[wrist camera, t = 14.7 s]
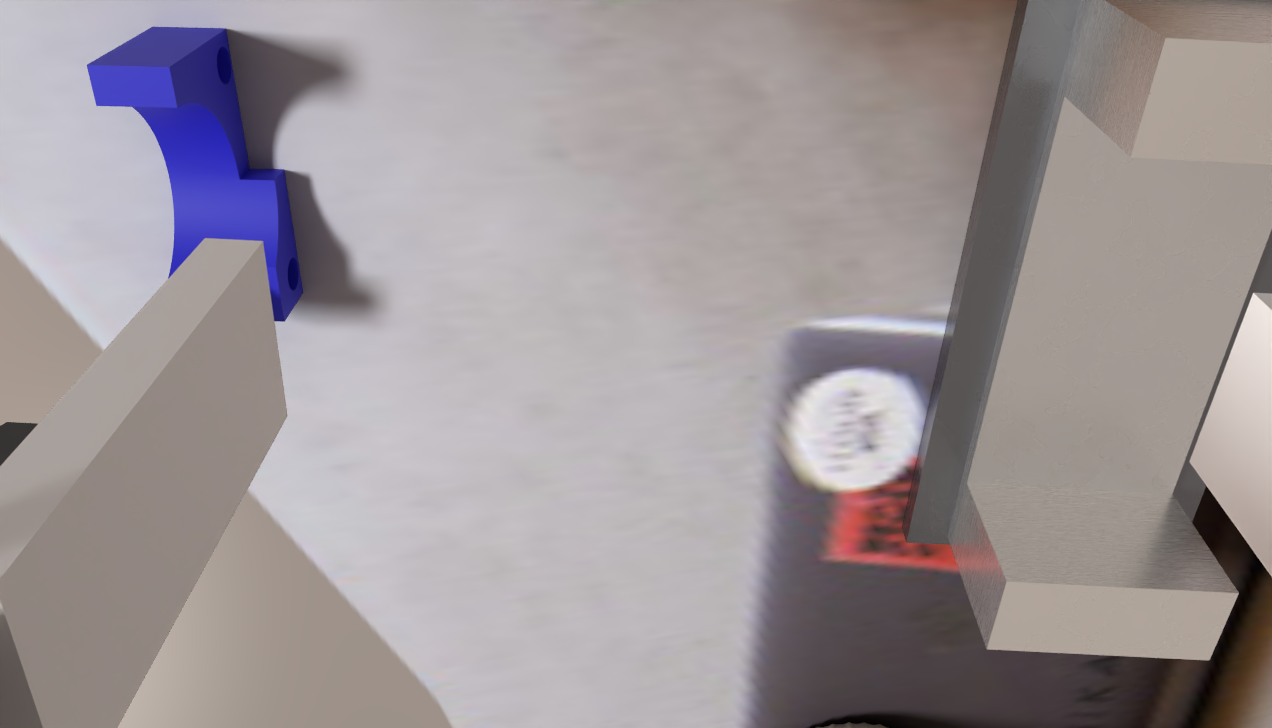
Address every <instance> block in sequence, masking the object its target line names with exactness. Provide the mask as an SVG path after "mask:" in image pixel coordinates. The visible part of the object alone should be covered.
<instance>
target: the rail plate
mask: <svg viewBox="0 0 1272 728" xmlns="http://www.w3.org/2000/svg"><path fill="white" fill-rule="evenodd" d="M1253 293H1270V294H1272V0H1018V3H1017V7H1016V12H1015V16H1014V21H1013V25H1012V30H1011V34H1010V39H1009V43H1008V48H1007V53H1006V57H1005V62H1004V66H1003V71H1002V75H1001V80H1000V84H999V89H998V93H997V98H996V103H995V107H994V112H993V116H992V121H991V125H990V130H989V134H988V139H987V143H986V148H985V152H984V157H983V162H982V166H981V171H980V175H979V180H978V184H977V189H976V193H975V198H974V202H973V207H972V212H971V216H970V221H969V225H968V230H967V234H966V239H965V243H964V248H963V252H962V257H961V262H960V266H959V271H958V275H957V280H956V284H955V289H954V293H953V298H952V302H951V307H950V311H949V316H948V321H947V325H946V330H945V334H944V339H943V343H942V348H941V352H940V357H939V361H938V366H937V371H936V375H935V380H934V384H933V389H932V393H931V398H930V402H929V407H928V411H927V416H926V420H925V425H924V430H923V434H922V439H921V443H920V448H919V452H918V457H917V461H916V466H915V470H914V475H913V480H912V484H911V489H910V493H909V498H908V502H907V507H906V511H905V516H904V520H903V525H902V529H903V533H904V536H905V539H906V542H909V543H929V544H949V545H950V546H951V549H952V552H953V554H954V557H955V560H956V563H957V566H958V569H959V572H960V574H961V577H962V580H963V583H964V586H965V589H966V591H967V594H968V597H969V600H970V603H971V606H972V609H973V611H974V614H975V617H976V620H977V623H978V626H979V628H980V631H981V634H982V637H983V640H984V643H985V646H986V648H987V649H992V650H1012V651H1032V652H1052V653H1072V654H1092V655H1112V656H1132V657H1152V658H1172V659H1192V660H1210V657H1211V655H1212V653H1213V651H1214V648H1215V646H1216V644H1217V642H1218V639H1219V637H1220V635H1221V632H1222V630H1223V628H1224V626H1225V623H1226V621H1227V619H1228V617H1229V614H1230V612H1231V610H1232V607H1233V605H1234V603H1235V601H1236V598H1237V596H1238V594H1239V593H1238V591H1237V590H1236V588H1235V587H1234V585H1233V584H1232V582H1231V581H1230V579H1229V578H1228V576H1227V575H1226V573H1225V572H1224V570H1223V569H1222V567H1221V566H1220V564H1219V563H1218V561H1217V560H1216V558H1215V557H1214V555H1213V554H1212V552H1211V551H1210V549H1209V548H1208V546H1207V545H1206V543H1205V542H1204V540H1203V539H1202V537H1201V536H1200V534H1199V533H1198V531H1197V530H1196V528H1195V527H1194V525H1193V524H1192V521H1193V518H1194V516H1195V513H1196V511H1197V508H1198V506H1199V503H1200V501H1201V498H1202V496H1203V493H1204V490H1205V488H1206V484H1205V483H1204V482H1203V480H1202V479H1201V477H1200V476H1199V475H1198V473H1197V472H1196V470H1195V469H1194V468H1193V466H1192V465H1191V463H1190V462H1189V461H1190V459H1191V456H1192V453H1193V451H1194V448H1195V445H1196V443H1197V440H1198V438H1199V435H1200V432H1201V430H1202V427H1203V424H1204V422H1205V419H1206V416H1207V414H1208V411H1209V408H1210V406H1211V403H1212V401H1213V398H1214V395H1215V393H1216V390H1217V387H1218V385H1219V382H1220V379H1221V377H1222V374H1223V371H1224V369H1225V366H1226V363H1227V361H1228V358H1229V356H1230V353H1231V350H1232V348H1233V345H1234V342H1235V340H1236V337H1237V334H1238V332H1239V329H1240V326H1241V324H1242V321H1243V319H1244V316H1245V313H1246V311H1247V308H1248V305H1249V303H1250V300H1251V297H1252V295H1253Z"/></svg>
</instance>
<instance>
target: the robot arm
mask: <svg viewBox="0 0 1272 728" xmlns="http://www.w3.org/2000/svg"><path fill="white" fill-rule="evenodd" d="M286 417H287V409H286V402H285V394H284V387H283V380H282V373H281V366H280V359H279V352H278V344H277V337H276V330H275V323H274V316H273V309H272V301H271V294H270V287H269V280H268V273H267V266H266V259H265V251H264V244H263V241H253V240H234V239H214V238H205V239H204V240H203V241H202V242H201V243H200V244H199V245H198V246H197V247H196V249H195V250H194V251H193V252H192V253H191V254H190V255H189V256H188V257H187V259H186V260H185V261H184V262H183V263H182V264H181V265H180V266H179V267H178V269H177V270H176V271H175V272H174V273H173V274H172V275H171V276H170V278H169V279H168V280H167V281H166V282H165V283H164V284H163V285H162V286H161V288H160V289H159V290H158V291H157V292H156V293H155V294H154V295H153V296H152V298H151V299H150V300H149V301H148V302H147V303H146V304H145V305H144V307H143V308H142V309H141V310H140V311H139V312H138V313H137V314H136V315H135V317H134V318H133V319H132V320H131V321H130V322H129V323H128V324H127V325H126V327H125V328H124V329H123V330H122V331H121V332H120V333H119V334H118V336H117V337H116V338H115V339H114V340H113V341H112V342H111V343H110V344H109V346H108V347H107V348H106V349H105V350H104V351H103V352H102V353H101V354H100V356H99V357H98V358H97V359H96V360H95V361H94V362H93V363H92V365H91V366H90V367H89V368H88V369H87V370H86V371H85V372H84V373H83V375H82V376H81V377H80V378H79V379H78V380H77V381H76V382H75V383H74V385H73V386H72V387H71V388H70V389H69V390H68V391H67V393H66V394H65V395H64V396H63V397H62V398H61V399H60V400H59V401H58V403H57V404H56V405H55V406H54V407H53V408H52V409H51V410H50V411H49V412H48V414H47V415H46V416H45V417H44V418H43V419H42V420H41V421H40V423H39V424H32V423H14V422H6V423H5V424H3V425H1V426H0V728H117V727H118V725H119V724H120V722H121V720H122V718H123V716H124V714H125V713H126V711H127V709H128V707H129V705H130V703H131V702H132V700H133V698H134V696H135V694H136V692H137V691H138V689H139V687H140V685H141V683H142V681H143V679H144V678H145V675H146V674H147V672H148V670H149V668H150V667H151V665H152V663H153V661H154V659H155V658H156V656H157V654H158V652H159V650H160V648H161V647H162V645H163V643H164V641H165V639H166V637H167V636H168V634H169V632H170V630H171V628H172V626H173V625H174V623H175V621H176V619H177V617H178V615H179V614H180V612H181V610H182V608H183V606H184V604H185V602H186V601H187V599H188V597H189V595H190V593H191V592H192V590H193V588H194V586H195V584H196V582H197V581H198V579H199V577H200V575H201V573H202V571H203V570H204V568H205V566H206V564H207V562H208V560H209V559H210V557H211V555H212V553H213V551H214V549H215V547H216V546H217V544H218V542H219V540H220V538H221V537H222V535H223V533H224V531H225V529H226V527H227V526H228V524H229V522H230V520H231V518H232V516H233V515H234V513H235V511H236V509H237V507H238V505H239V504H240V502H241V500H242V498H243V496H244V494H245V493H246V491H247V489H248V487H249V485H250V483H251V482H252V480H253V478H254V476H255V474H256V472H257V471H258V469H259V467H260V465H261V463H262V461H263V460H264V458H265V456H266V454H267V452H268V450H269V449H270V447H271V445H272V443H273V441H274V439H275V438H276V436H277V434H278V432H279V430H280V428H281V427H282V425H283V423H284V421H285V419H286ZM1189 462H1190V463H1191V465H1192V466H1193V468H1194V469H1195V470H1196V472H1197V473H1198V475H1199V476H1200V477H1201V479H1202V480H1203V482H1204V483H1205V484H1206V486H1207V487H1208V489H1209V490H1210V491H1211V493H1212V494H1213V496H1214V497H1215V498H1216V500H1217V501H1218V503H1219V504H1220V505H1221V507H1222V508H1223V509H1224V511H1225V512H1226V514H1227V515H1228V516H1229V518H1230V519H1231V521H1232V522H1233V523H1234V525H1235V526H1236V528H1237V529H1238V530H1239V532H1240V533H1241V535H1242V536H1243V537H1244V539H1245V540H1246V542H1247V543H1248V544H1249V546H1250V547H1251V549H1252V550H1253V551H1254V553H1255V554H1256V555H1257V557H1258V558H1259V560H1260V561H1261V562H1262V564H1263V565H1264V567H1265V568H1266V569H1267V571H1268V572H1269V574H1270V575H1271V576H1272V294H1270V293H1253V295H1252V297H1251V300H1250V303H1249V305H1248V308H1247V311H1246V313H1245V316H1244V319H1243V321H1242V324H1241V326H1240V329H1239V332H1238V334H1237V337H1236V340H1235V342H1234V345H1233V348H1232V350H1231V353H1230V356H1229V358H1228V361H1227V363H1226V366H1225V369H1224V371H1223V374H1222V377H1221V379H1220V382H1219V385H1218V387H1217V390H1216V393H1215V395H1214V398H1213V401H1212V403H1211V406H1210V408H1209V411H1208V414H1207V416H1206V419H1205V422H1204V424H1203V427H1202V430H1201V432H1200V435H1199V438H1198V440H1197V443H1196V445H1195V448H1194V451H1193V453H1192V456H1191V459H1190V461H1189Z"/></svg>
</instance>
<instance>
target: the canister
mask: <svg viewBox="0 0 1272 728" xmlns="http://www.w3.org/2000/svg"><path fill="white" fill-rule="evenodd" d="M816 728H887V727H885V726H883V725H881V724H877V725H871V724H867V723H865V722H863V723H860V724H853V723H850V722H848V723H845V724H831V725H830V726H826V727H816Z"/></svg>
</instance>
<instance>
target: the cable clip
mask: <svg viewBox="0 0 1272 728" xmlns="http://www.w3.org/2000/svg"><path fill="white" fill-rule="evenodd" d="M87 68H88V72H89V76H90V80H91V85H92V89H93V93H94V97H95V101H96V105H97V106H125V107H133V108H134V109H135V110H136V111H138V112H139V113H140V114H141V115H142V117H143V118H144V119H145V120H146V122H147V123H148V124H149V126H150V127H151V129H152V131H153V133H154V134H155V136H156V139H157V141H158V143H159V145H160V148H161V150H162V153H163V156H164V159H165V162H166V166H167V169H168V173H169V178H170V183H171V189H172V195H173V205H174V228H175V229H174V248H173V256H172V263H171V269H170V273H169V277H168V279H169V278H170V276H171V275H172V274H173V273H174V272H175V271H176V270H177V269H178V267H179V266H180V265H181V264H182V263H183V262H184V261H185V260H186V259H187V257H188V256H189V255H190V254H191V253H192V252H193V251H194V250H195V249H196V247H197V246H198V245H199V244H200V243H201V242H202V241H203V240H204V239H205V238H214V239H234V240H253V241H263V244H264V251H265V259H266V266H267V273H268V280H269V287H270V294H271V301H272V309H273V316H274V321H285V320H286V319H287V317H288V315H289V314H290V312H291V311H292V309H293V308H294V306H295V305H296V303H297V301H298V300H299V298H300V297H301V295H302V294H303V289H302V282H301V276H300V269H299V263H298V256H297V250H296V243H295V237H294V230H293V224H292V217H291V211H290V205H289V198H288V192H287V185H286V179H285V172H284V170H279V169H250V167H249V161H248V155H247V149H246V144H245V138H244V132H243V126H242V120H241V114H240V109H239V103H238V97H237V91H236V85H235V79H234V74H233V68H232V62H231V56H230V50H229V44H228V39H227V33H226V29H221V28H179V27H152V28H150V29H148V30H146V31H145V32H143V33H141V34H139V35H138V36H136V37H134V38H133V39H131V40H129V41H127V42H126V43H124V44H122V45H120V46H119V47H117V48H115V49H114V50H112V51H110V52H108V53H107V54H105V55H103V56H102V57H100V58H98V59H96V60H95V61H93V62H91V63H89V64H88V65H87Z"/></svg>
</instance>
